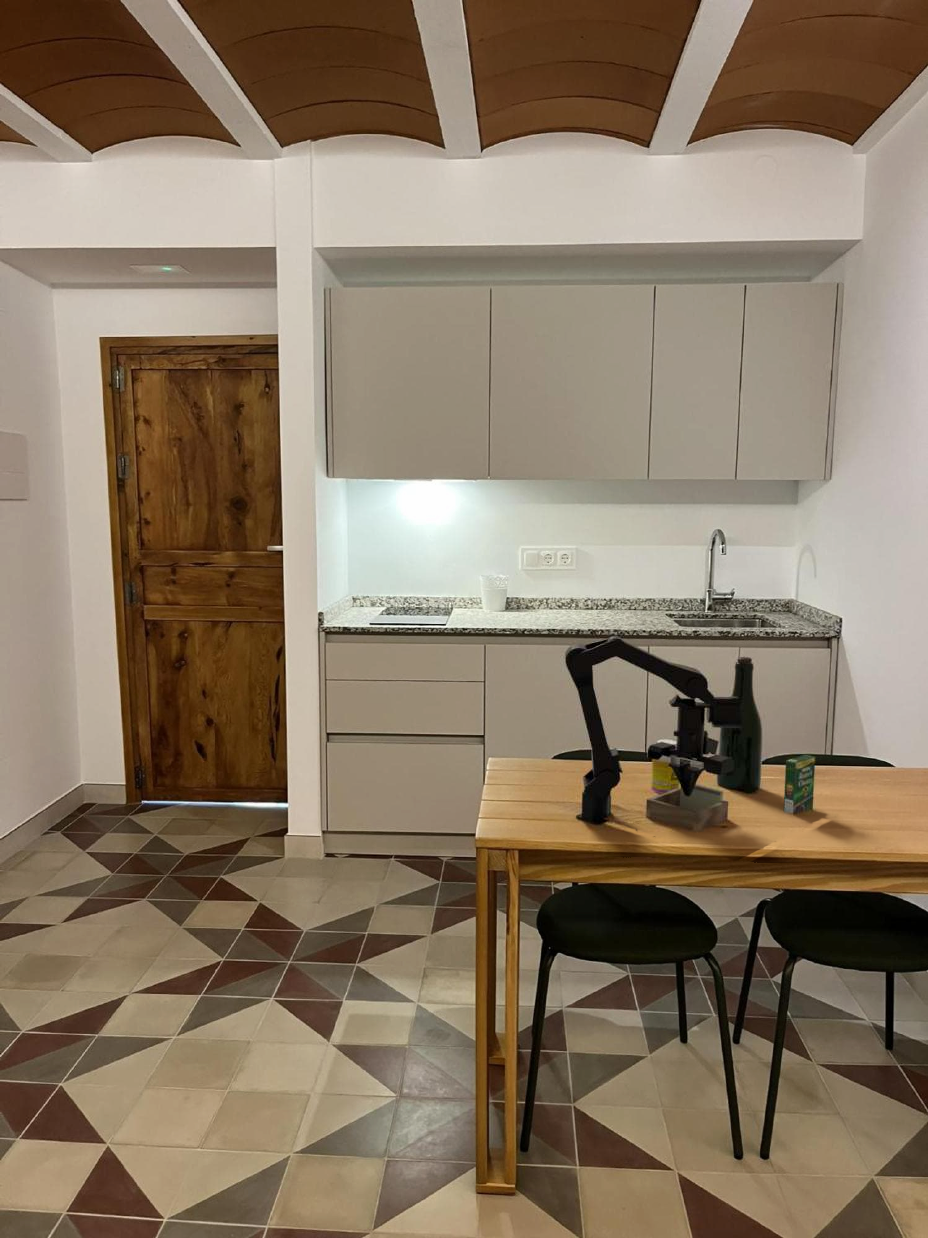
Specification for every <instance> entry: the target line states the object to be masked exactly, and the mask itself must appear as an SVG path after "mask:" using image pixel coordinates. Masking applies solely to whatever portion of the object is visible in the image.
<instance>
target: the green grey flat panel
mask: <svg viewBox="0 0 928 1238" xmlns="http://www.w3.org/2000/svg"><path fill="white" fill-rule="evenodd" d="M679 789H680V806H679V807H682V808H685V809H689V810H692V811H696V812H697V811H699V810H702V809H704V808H707V807H709V806H712V805H714V804H717V803H719V802H722V801H724V800H723V798H724V791H723V790H719V789H715V788H713V787H708V786H705V785H700V784H697V783H696V784H695V787H694V789H693V791H692V794H691V796H685V794H684V792H683V790H682V787H681V785H680V784H679Z"/></svg>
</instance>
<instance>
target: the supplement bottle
mask: <svg viewBox="0 0 928 1238" xmlns="http://www.w3.org/2000/svg"><path fill="white" fill-rule="evenodd" d="M659 742H665V743H669V744H673V745H675V747H676V748H677V741H675V740H671V739H659V740H657V742H656V743H659ZM670 763H671V757H666V756H662V757H661V758H660V759H659V760H655V759H652V762H651V784H650V789H651V791H653V792H655V793H658V794H659V793H660V794H663V793H665V792H668V791H671V790H674V789H676V788H679V789H680V783H679V781H678V778H677V776H676V775H675V773H674V771H673V769H672V768H671V767H669V765H668V764H670Z"/></svg>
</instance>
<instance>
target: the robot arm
mask: <svg viewBox="0 0 928 1238" xmlns="http://www.w3.org/2000/svg"><path fill="white" fill-rule="evenodd" d="M613 658H619V659H621V660H622V661H626V662H627V663H629V664H631V665H634V666H635V667H637V668H640V669H642V670H644V671H645V672H647V673H650V674H652V675H654V676H657V677H658V678H660V679H662V680H664V681H665V682H666V683H668V684H670V685H671V686H672V687H673V688H674V689H676V690H677V691H678V692H680V693H681V694H683V695H684V696H685V698H684V697H683V698H682V697H680V695H679V694H677V693H676V694H675V696H674V697H673V698H672V699H670V700H669V701H668V704H669V705H670V706H671V707H672V708H677V727H676V730H674V731H673V736H674V737H676V742H677V748H676V747H675V745H673V744H669V743H665V742H659V743H657V742H656V743H654V744H653V743H652V744H650V745H649V746H648V748H647V750H646V757H647V758H648V759H655V760H659V759H660V758H661V757H662V756H666V757H671V763H670V764H668V765H669V767H671V768H672V769H673V771H674V773H675V775H676V776H677V778H678V781H679V786H680V785H681V787H682V790H683V792H684V794H685V796H691V794H692V791H693V789H694V787H695V784H697V781H698V779H699V777H700V776H701V775H702V773H703V772H706V773H708V774H712V775H716V776H717V775H722V774H725V773H728V772H730V771H733V770H734V762H733V760H732V759H731V758H730V757H726V756H721V755H718V754H717V751H718V748H719V740H716V739H714V738H710V737H709V734H708V731H707V730H705V719H706V722H707V723H710V724H711V728H718V729H719V728H740V726H741V720H742V714H741V709H740V704H739V701H740V699H739V698H738V697H735V696H732V695H731V696H728V697H727V696H715V695H714V694H713V693H712V692H711V691H710V690H709V689H708V688H709V683H708V680H707V677H706V676H705V675H704V674H703V673H702V672H701V671H700V670H699V669H697V668H694V667H690V666H687V665H684V664H679V663H674V662H670V661H668V660H665V659H663V658H662V657H660V656H657V655H655V654H653V653H651V652H648V651H646V650H644V649H642V648H640V647H638V646H637V645H634V644H632V643H630V642H628V641H626V640H624V639H622V637H619V636H617V635H613V636H610V637H608V638H605V639H601V640H597V641H593V642H590V643H587V644H581V643H575V644H572V645H570V646H569V647H568V648H567V649H566V651H565V653H564V660H565V665H566V668H567V670H568V673H569V675H570V678H571V679H572V682H573V684H574V685H575V688H576V691H577V693H578V697H579V698H578V699H579V702H580V705H581V710H582V713H583V718H584V721H585V725H586V729H587V731H586V732H587V734H588V737H589V742H590V747H591V769H590V770H588V772H586V774H584V776H582V781H583V788H584V789H583V792H581V813H579V814H576V815H575V818H576V819H579V820H583V821H586V822H589V823H592V824H594V825H598V826H599V825H601V824H605V823H606V822H610V820H609V819H607V818H608V817H609V816H610V814H611V813H612V810H611V809H612V796H611V795H612V794H611V793H612V792H611V791H612V789H614V788H616V787H617V786H618V784H619V782H620V781H621V775H620V773H621V774H623V771H624V770H623V769H622V765H621V762H620V761H619V760H620V758H619V757H620V756H619V753H618V749H617V747H614V748H610V745H609V744H608V741H607V737H606V734H605V730H604V725H603V721H602V716H601V712H600V707H599V704H598V699H597V695H596V692H595V688H594V687H595V686H594V672H593V669H594V666H596V665H599V664H601V663H603V662H606V661H607V660H611V659H613ZM696 699H699V700H700V701H701V702H699V701H698V702H697V701H696ZM705 716H706V718H705ZM709 754H711V755H712V756H709V757H708V756H706V755H709ZM704 755H705V756H704Z"/></svg>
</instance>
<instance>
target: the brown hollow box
mask: <svg viewBox="0 0 928 1238" xmlns="http://www.w3.org/2000/svg"><path fill="white" fill-rule="evenodd" d="M645 810H646V811H645V817H646V818H648V819H651V820H655V821H658V822H662V823H665V824H669V825H671V826H675V827H678V828H681V829H684V830H687V831H692V832H694V833H699V832H702V831H704V830H706V829H708V828H712V827H714V826H715V825H717V824H720V823H722V822H725V821H726V820H728V815H729V814H728V813H729V801H727V800H722V802H719V803H717V804H714V805H712V806H709V807H707V808H704V809H702V810H699V811H697V812H696V811H692V810H689V809H685V808H682V807H680V787H679V788H676V789H674V790H671V791H668V792H665V793H660V794H658V795H655V796H652V797H648V798H646V806H645Z"/></svg>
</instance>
